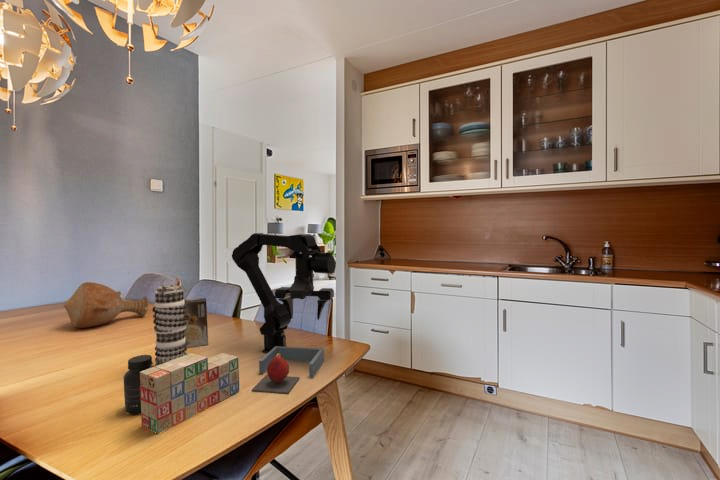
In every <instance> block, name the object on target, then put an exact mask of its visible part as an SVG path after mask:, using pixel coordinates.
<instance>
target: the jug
mask: <svg viewBox="0 0 720 480" xmlns="http://www.w3.org/2000/svg"><path fill="white" fill-rule="evenodd" d="M121 294H122V292H121V291H120V290H118V291H116V290H114V289H113V288H111V287H110V286H108V285H105V284H102V283H98V282H97V283H96V282H89V281H88V282H83V283H81V284H80V285H79V286H78V287H77V289H76V290H75V292H74V293H72V295H71V297H70V298H68V299H67V300H66V301H65V302H64V303H63V308H64V309H65V311H66V312H67V315H68V318H69V321H70V323H71V325H72V326H73V327H74V328H77V329H81V328H84V329H85V328H93V327H97V326H101V325H104V324H107V323H109V322H111V321H113V320H114V319H115V318H116V317H118V315H120V314H122V313H126V312H127V313H129V312H130V313H136V314H137V315H138V316H139V317H140V318H144V317H145V315H147V313H148V310H149V298H148V297H147V296H143V297H141V299H139V300H135V301H125V300H123V299H122V298H121Z"/></svg>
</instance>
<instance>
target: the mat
mask: <svg viewBox="0 0 720 480" xmlns="http://www.w3.org/2000/svg"><path fill="white" fill-rule="evenodd" d="M300 378H301V377H300V376H289V375H287V377H286V378H285V379H284V380H283V381H281V382H280V383H276V382H274V381H272V380H271V379H270V378H269V376H268V375H267V374H266V375H264V376H263V378H261V380H260V381H259V382H257V384H256V385H255V386H253V388H251V392H257V393H271V394H283V395H285V394H286V395H289V394H290V392H292V390H293V388H294V387H295V386H296V385H297V383H298V382H299V380H300Z"/></svg>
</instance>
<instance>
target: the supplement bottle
mask: <svg viewBox="0 0 720 480" xmlns="http://www.w3.org/2000/svg"><path fill="white" fill-rule="evenodd" d="M153 363H154V362H153V356H152V355H150V354H141V355H136V356H133V357H130V358H129V359H128V360H127V371H126V372H125V373H124V375H123V394H124V395H123V396H124V410H125V412H126V414H128V415H132V416H136V415H137V416H138V415H141V399H140V386H141V385H140V372H141V371H143V370H146V369H149V368H152V367H155V366H154V365H153Z"/></svg>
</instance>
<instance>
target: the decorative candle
mask: <svg viewBox="0 0 720 480" xmlns="http://www.w3.org/2000/svg"><path fill="white" fill-rule="evenodd" d="M185 290H186V289H184V288H182V286H181V285H179V284H165V285H160V286H158V288H157V289H156V290H155V291H154V292H153V293H154V294H155V295H154V297H155V300H154V306H153V307H152V310H151V311H152V312H153V313H154V314H152V318H153V320H152V321H153V322H152V324H154V325H155V326H154V327H153V330H154V331H153V332H154V333H155V334H156V338H155V339H156V341H155V347H154V350H155V352H154V355H155V358H154V361H155V364H154V365H155V366H158V365H161V364H163V363H166V362H169V361H171V360H174V359H176V358H179V357H182V356H185V355H187V354H188V353H187V350H188V347H187V348H186V347H185V346H186V345H187V343H186V342H185V335H184V334H185V331H184V329H186V326H185V325H186V324H187V323H186V322H184V321H185V320H186V319H187V318H186V317H184V314H186V313H187V311H185V310H184V309H186V308H187V306H185V305H184V304H185V302H184V300H185V299H184V291H185ZM155 366H154V367H155Z"/></svg>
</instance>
